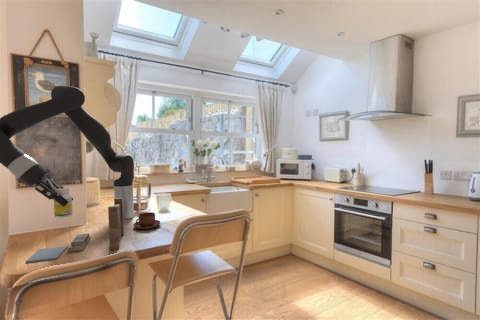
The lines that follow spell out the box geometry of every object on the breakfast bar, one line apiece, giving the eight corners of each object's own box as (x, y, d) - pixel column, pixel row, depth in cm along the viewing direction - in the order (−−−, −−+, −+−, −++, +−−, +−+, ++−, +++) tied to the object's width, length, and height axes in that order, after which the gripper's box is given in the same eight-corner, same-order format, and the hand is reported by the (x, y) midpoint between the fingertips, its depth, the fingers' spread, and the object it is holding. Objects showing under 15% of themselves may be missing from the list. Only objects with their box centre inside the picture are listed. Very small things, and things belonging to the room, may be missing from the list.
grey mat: (39, 250, 100) (39, 249, 100) (67, 247, 103) (67, 246, 103) (25, 262, 90) (25, 261, 90) (57, 259, 93) (57, 257, 93)
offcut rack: (78, 239, 112) (76, 200, 111) (123, 234, 117) (122, 197, 116) (65, 255, 96) (63, 210, 95) (118, 249, 101) (117, 206, 100)
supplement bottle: (59, 214, 101) (59, 188, 100) (75, 214, 101) (74, 187, 101) (51, 218, 95) (50, 190, 95) (67, 217, 96) (66, 190, 95)
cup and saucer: (152, 232, 121) (151, 218, 121) (128, 230, 123) (127, 217, 123) (165, 224, 133) (164, 211, 132) (142, 222, 135) (142, 210, 135)
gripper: (28, 163, 88) (71, 198, 93) (45, 161, 102) (81, 192, 106) (9, 180, 87) (53, 215, 91) (28, 176, 101) (66, 206, 105)
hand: (68, 202), depth 99 cm, fingers closed on supplement bottle, 5 cm apart
